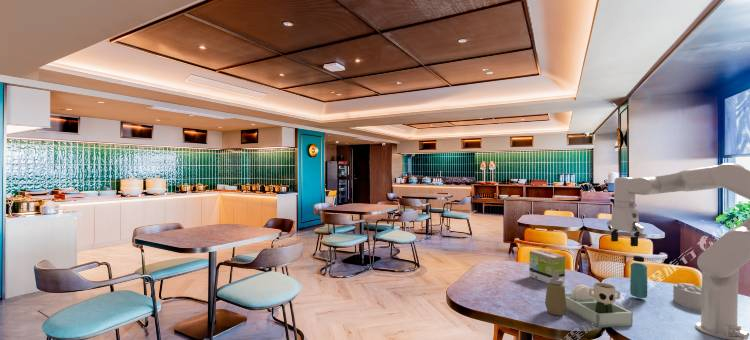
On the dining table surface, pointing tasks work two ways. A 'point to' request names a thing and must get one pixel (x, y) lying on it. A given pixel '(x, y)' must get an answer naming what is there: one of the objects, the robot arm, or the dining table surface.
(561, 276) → the tea box
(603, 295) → the character mug
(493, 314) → the dining table surface
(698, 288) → the lumpy-topped squat cylinder
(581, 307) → the dish rack
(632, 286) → the beverage bottle
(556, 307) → the squeeze bottle
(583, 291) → the racked plates
